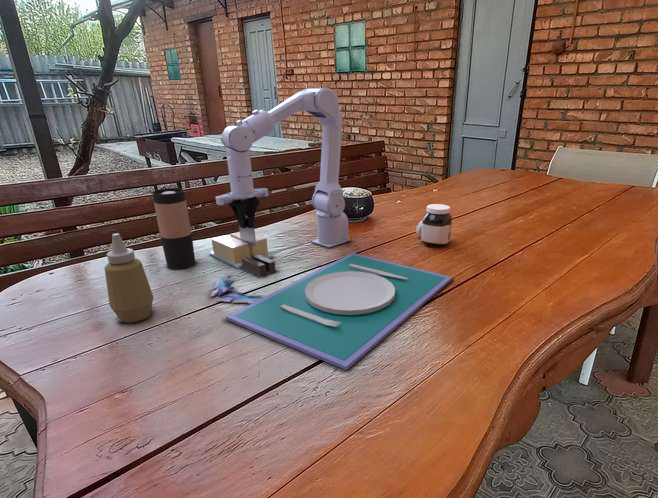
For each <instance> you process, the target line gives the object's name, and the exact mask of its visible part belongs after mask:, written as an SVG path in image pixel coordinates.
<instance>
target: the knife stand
mask: <svg viewBox="0 0 658 498" xmlns="http://www.w3.org/2000/svg"><path fill="white" fill-rule="evenodd" d="M242 265H243V267H242V270H244V271H246V272H249V273H251V274H252V275H255V276H257V277H259V278H262V277H265V276H267V274H269V275H271V274H274V273H276V272H277V269H276V261H275V260H273V259H272V258H270V259H268V258H266V257H263V256H261V255H259V254H255V255H252V259H251V258H249V257H245V258H242Z"/></svg>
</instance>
